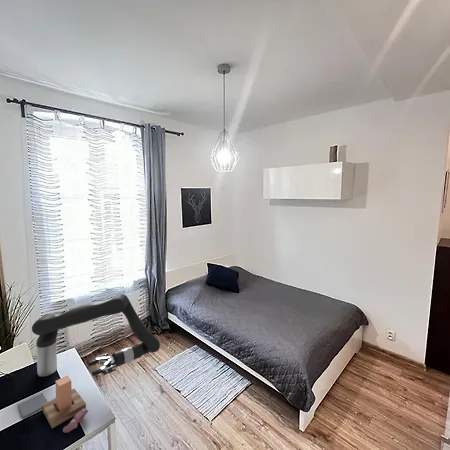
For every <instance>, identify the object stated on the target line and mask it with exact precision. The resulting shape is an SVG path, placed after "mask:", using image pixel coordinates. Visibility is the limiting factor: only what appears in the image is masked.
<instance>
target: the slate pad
mask: <svg viewBox="0 0 450 450" xmlns="http://www.w3.org/2000/svg"><path fill="white" fill-rule="evenodd" d="M48 401H49V400H47V398H46V396H45V394H44V393H43V392H41V393H39V394H37V395H35V396H33V397H30V398H29V399H26V400H24V401H22V402H20V403H18V404H17V408H18V410H19V413H20V414H21V417H22V419H26V418H27V417H29V416H31V415H33V414H35V413H37V412H39V411H42V404H44V403H46V402H48Z"/></svg>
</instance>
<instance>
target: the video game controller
mask: <svg viewBox="0 0 450 450" xmlns="http://www.w3.org/2000/svg"><path fill="white" fill-rule="evenodd" d="M88 412H89V409H87V408H86V409H84V408H83V409H82V410H81V411H79V412H78V413H77V414H76V415H75V416H73V417H72V419H71V420H70V422H69V423H68V424H67V425H65V426H64V427H63V428H62V432H63V433H66V434H68V433H70V432H71V431H73V430H75V429H76V428H78V425H79V424H80V423H81V422H82V421H83V419H84V418H85V416H86V415H87V414H88Z"/></svg>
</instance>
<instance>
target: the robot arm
mask: <svg viewBox="0 0 450 450" xmlns="http://www.w3.org/2000/svg"><path fill="white" fill-rule="evenodd" d="M120 313H122V314H123V315H124V316H125V318H126V319H127V322H128V325H129V327H130V329H131V331H132V333H133V335H134V336H135V337H136V338H137V340H138V341H140V342H141V343H138V344H134V345H132V346H128V347H124V348H122V349H119V350H115V351H114V352H112V354H110V355H109V352H105V353H102V354H99V355H96V356H95V357H96V358H95V359H93V360H90V361H88V362H87V367H92V366H95V365H97V364H99V365H101V367H100V368H97V369H94V370H92V371H91V376H92V377H94V376H97V375H100V374H101V375H103V376H105V375H108V374H110V373H112V372H114V371H115V372H116V369H117V368H118V367H120V366H122V365H125V364H128V363H131V362H132V361H135V360H138V359H139V358H142V356H144V355H147V354H150V353H153V354H154V353H157V352H158V351H159V350H160V347H161V343H160V341H159V339H158V338H157V337H156V336H155V335H154V334H153V333H152V332H150V330H149V328H148V327H147V326H146V325H145V324H144V322H143V321H142V319H141V318H140V317H139V315H138V313H137V312H136V309H134V306H133V305H132V302H131V301H130V299H129V298H128V296H127V295H126V294H124V293H118V294H116V295H115V296H114V297H112V298H111V299H109V300H107V301H104V302H101V303H97V304H96V303H95V304H93V303H92V304H84V305H80V306H77V307H74V308H72V309H69V310H67V311H65V312H63V313H61V314H59V315H55V314H54V313H45V314H43V315H42V316H41V317H39V318H38V319H37V320H36V321H35V322H34V323H33V324H32V326H31V331H32V333H33V334H34V335H36V336H38V338H37V339H36V343H35V345H36V368H37V371H36V372H37V376H38V377H48V376H51V375H52V374H54V373H55V372H56V371H57V370H58V358H57V356H58V355H57V337H58V333H59V332H58V330H61V329H64V328H68V327H73V326H75V325H80V324H84V323H87V322H90V321H93V320H97V319H99V318H102V317H107V316H113V315H118V314H120Z"/></svg>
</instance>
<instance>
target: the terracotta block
mask: <svg viewBox="0 0 450 450" xmlns="http://www.w3.org/2000/svg"><path fill="white" fill-rule="evenodd" d="M55 398H56V410H57V412H58V413H59V412H61V411H62V410H64V409H66V408H68V407H70V406H72V379H71V378H70V377H69V376H68V375H65V376H63V377H61V378H59V379H57V380H55Z"/></svg>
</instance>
